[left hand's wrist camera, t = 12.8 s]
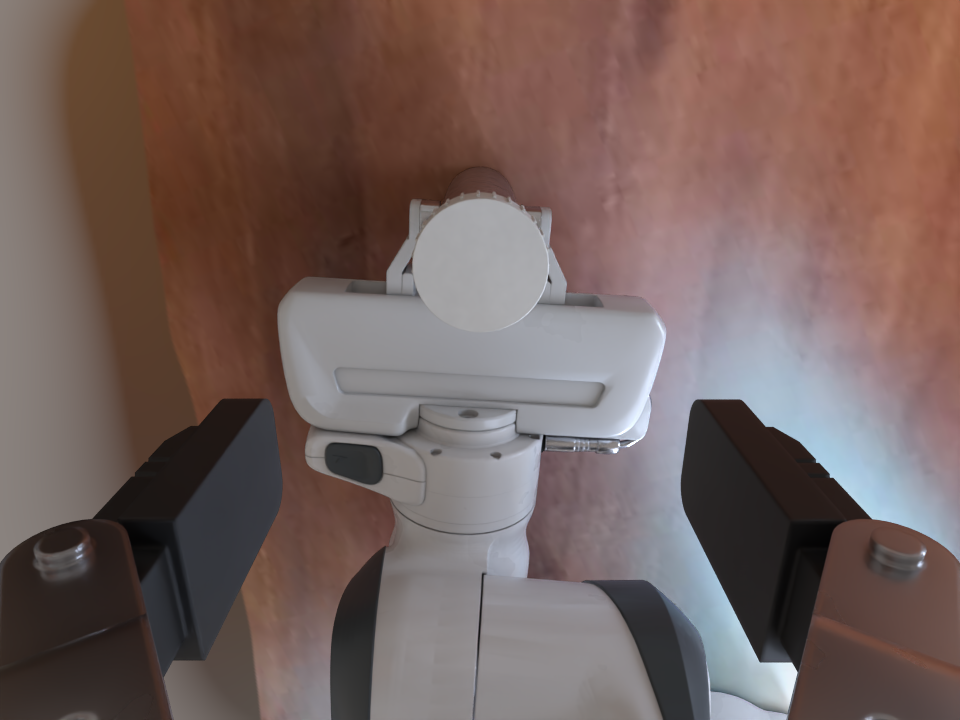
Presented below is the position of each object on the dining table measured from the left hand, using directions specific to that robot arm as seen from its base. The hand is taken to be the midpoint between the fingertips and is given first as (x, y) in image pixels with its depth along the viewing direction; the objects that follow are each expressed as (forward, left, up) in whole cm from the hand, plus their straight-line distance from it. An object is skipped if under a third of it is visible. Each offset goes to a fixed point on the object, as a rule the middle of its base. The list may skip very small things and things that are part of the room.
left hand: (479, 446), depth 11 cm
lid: (0, 0, -14) cm, 14 cm away
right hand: (-1, 0, -23) cm, 23 cm away
